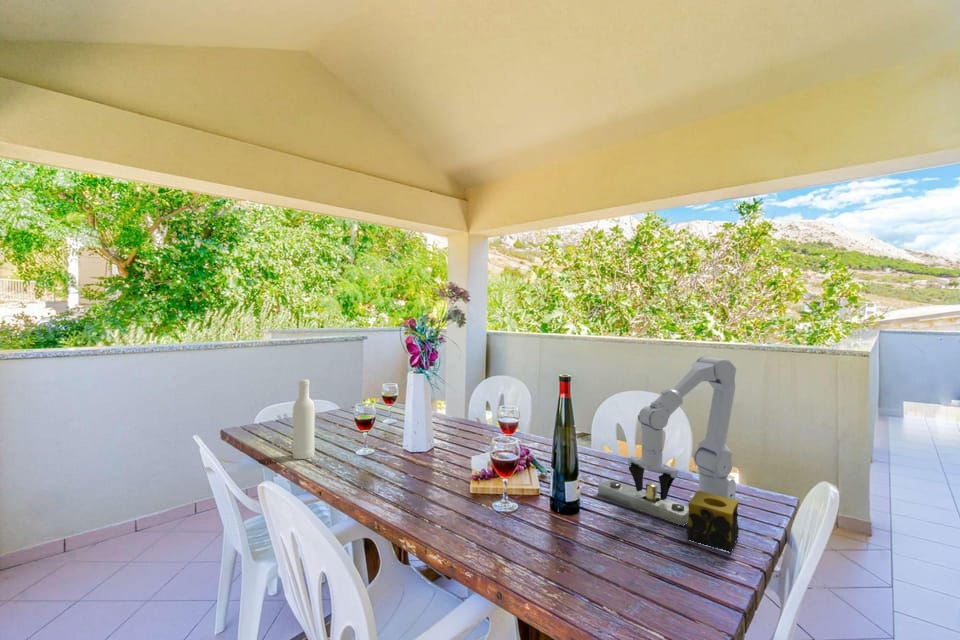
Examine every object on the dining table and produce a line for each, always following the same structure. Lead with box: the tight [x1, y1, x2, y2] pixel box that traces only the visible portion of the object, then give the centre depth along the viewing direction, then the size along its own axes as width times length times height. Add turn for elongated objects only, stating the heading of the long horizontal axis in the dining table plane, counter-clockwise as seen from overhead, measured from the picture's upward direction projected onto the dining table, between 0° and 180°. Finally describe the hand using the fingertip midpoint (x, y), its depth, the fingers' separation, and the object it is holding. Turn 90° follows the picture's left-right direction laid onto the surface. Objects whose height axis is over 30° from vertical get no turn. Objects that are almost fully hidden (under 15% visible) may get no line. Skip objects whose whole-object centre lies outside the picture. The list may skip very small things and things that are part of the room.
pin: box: [645, 482, 658, 503], centre depth 128 cm, size 3×3×7 cm
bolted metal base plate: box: [597, 479, 689, 527], centre depth 130 cm, size 27×7×4 cm, turn 39°
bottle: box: [292, 379, 316, 460], centre depth 170 cm, size 8×8×30 cm
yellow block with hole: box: [686, 489, 740, 552], centre depth 111 cm, size 10×10×10 cm
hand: (651, 494), depth 128 cm, fingers open, 7 cm apart
